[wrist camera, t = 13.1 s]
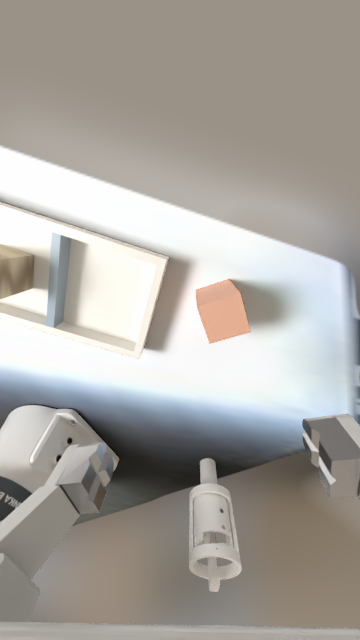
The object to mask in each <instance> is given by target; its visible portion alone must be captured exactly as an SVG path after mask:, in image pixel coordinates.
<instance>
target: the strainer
mask: <svg viewBox="0 0 360 640" xmlns="http://www.w3.org/2000/svg"><path fill="white" fill-rule="evenodd" d="M200 482H201V485H198V486H196V487H194V488H193V489H192V490H191V491H190V494H189V569H190V571H191V572H192V573H194V574H195V575H197V576H199V577H202V578H206V579H209V591H213V592H218V590H219V587H220V580H224V579H229V578H232V577H235V576H237V575H238V574H239V573H240V572H241V570H242V567H241V561H240V554H239V548H238V541H237V535H236V528H235V521H234V514H233V508H232V501H231V495H230V492H229V491H228V490H227V489H226V488H225V487H223V486H220V485H218V484H217V474H216V464H215V461H214V460H213V459H210V458H205V459H202V460H201V461H200ZM193 510H194V538H195V546H196V547H194V548H193ZM228 511H229V513H228ZM229 517H230V521H229ZM230 525H231V528H230ZM222 526H224V530H223V529H222ZM215 532H220V533H223V534H224V535H225V543H218V544H216V534H215ZM231 532H232V536H231ZM232 540H233V543H232ZM199 543H201V544H202V545H199V546H197V545H198V544H199ZM233 547H234V548H233ZM205 557H208V566H205V565H202V564H200V563H198V562H196V561H197V560H199V559H202V558H205ZM216 557H220V558H225V559H228V560H231V561H232V562H233V563H231V564H229V565H226V566H222V567H217V561H216Z"/></svg>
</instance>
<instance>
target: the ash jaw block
mask: <svg viewBox="0 0 360 640" xmlns="http://www.w3.org/2000/svg"><path fill="white" fill-rule="evenodd" d="M33 286H34V255H33V254H30V253H26V252H23V251H20V250H17V249H14V248H11V247H7V246H4V245H1V244H0V299H3V298H6V297H9V296H12V295H15V294H18V293H21V292H24V291H27V290H30V289H33Z"/></svg>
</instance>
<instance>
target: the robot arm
mask: <svg viewBox="0 0 360 640" xmlns="http://www.w3.org/2000/svg"><path fill="white" fill-rule="evenodd" d="M303 428H304V430H305V431H306V432H305V433H304V434H303V443H304V446H305V450H306V452H307V455H308V457H309V459H310V461H311V463H312V464H314V465H315V466H316V467H318V468H319V478H320V480H321V482H322V483H323V486H324V487H325V489H326V491H327V493H328V495H329V497H330V498H344V497H359V499H360V425H359V424H358V423H357V422H356V421H355V420H354V419H353V418H352V417H351V416H350V415H349V414H342V415H333V416H323V417H315V418H307V419H303ZM118 462H119V458H118V456H117V455H116V454H115V453H114V452H113V451H112V450H111V449H110V448H109V446H108V445H107V444H106V443H105V442H104V441H103V440H102V439H101V438H100V437H99V436H98V435H97V434H96V432H95V431H94V430H93V429H92V428H91V427H90V426H89V425H88V424H87V423H86V422H85V421H84V420H83V418H82V417H81V416H80V415H79V414H78V413H77V412H76V411H74V410H72V409H53V408H49V407H45V406H38V405H27V406H22V407H19V408H17V409H15V410H13V411H12V412H11V413H10V414H9V416H8V417H7V419H6V421H5V423H4V424H3V426H2V428H1V429H0V640H360V628H320V627H318V628H317V627H264V626H210V625H208V626H207V625H205V626H204V625H154V624H100V623H94V624H93V623H45V622H28V621H29V619H30V616H31V614H32V611H33V609H34V607H35V604H36V602H37V600H38V597H39V595H40V590H39V588H38V587H37V586H36V585H35V584H34V583H33V582H32V581H31V579H32V578H33V577H34V575H35V574H36V573H37V571H38V570H39V568H40V567H41V566H42V565H43V563H44V562H45V561H46V560H47V558H48V557H49V556H50V554H51V553H52V552H53V550H54V549H55V548H56V546H57V545H58V544H59V542H60V541H61V540H62V538H63V537H64V536H65V534H66V533H67V532H68V530H69V529H70V528H71V526H72V525H73V524H74V523H75V521H76V520H77V519H78V517H79V514H88V513H98V512H100V510H101V507H102V504H103V501H104V498H105V495H106V489H105V486H106V485H107V484H108V483H109V481H110V480H111V477H112V474H113V471H114V470H115V469H116V467H117V464H118Z"/></svg>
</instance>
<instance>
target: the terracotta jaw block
mask: <svg viewBox="0 0 360 640" xmlns="http://www.w3.org/2000/svg"><path fill="white" fill-rule="evenodd" d="M196 300H197V308H198V311H199V314H200V317H201V320H202V323H203V326H204V328H205V331H206V334H207V337H208V340H209V343H214V342H217V341H221V340H224V339H228V338H231V337H235V336H238V335H242V334H245V333H249V332H251V331H250V328H249V324H248V320H247V316H246V312H245V308H244V305H243V301H242V297H241V293H240V292H239V291H238V289H237V288H236V287H235V286H234V285H233V283H232V282H231V281H230V280H229V279H227V280H224V281H221V282H218V283H215V284H212V285H209V286H206V287H203V288H200V289H197V290H196Z"/></svg>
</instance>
